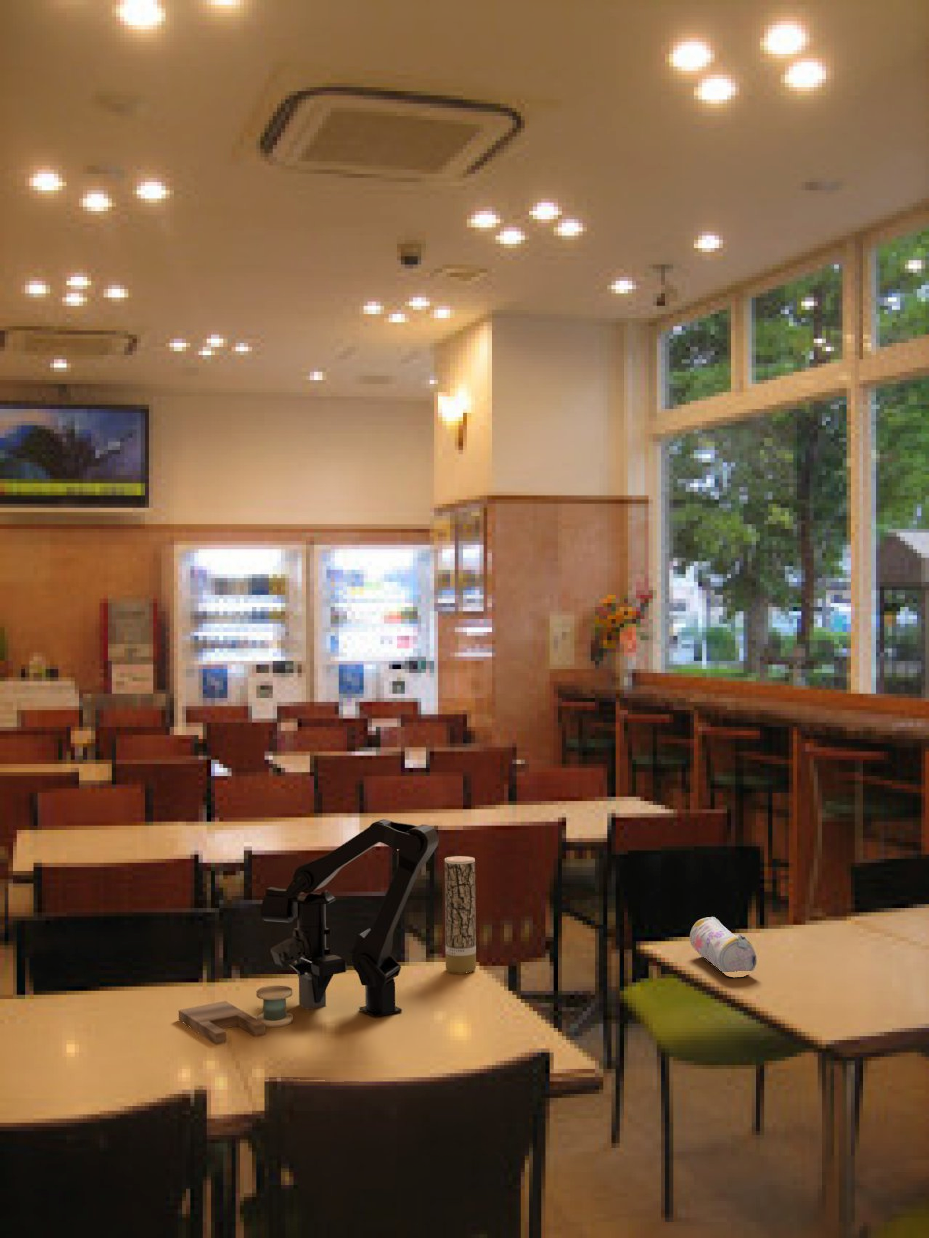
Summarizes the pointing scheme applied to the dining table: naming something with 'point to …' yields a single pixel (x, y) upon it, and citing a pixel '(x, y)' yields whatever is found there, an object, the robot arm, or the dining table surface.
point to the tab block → (308, 993)
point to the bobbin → (274, 1005)
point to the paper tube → (460, 914)
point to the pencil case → (722, 946)
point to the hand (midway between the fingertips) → (312, 1000)
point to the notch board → (219, 1020)
